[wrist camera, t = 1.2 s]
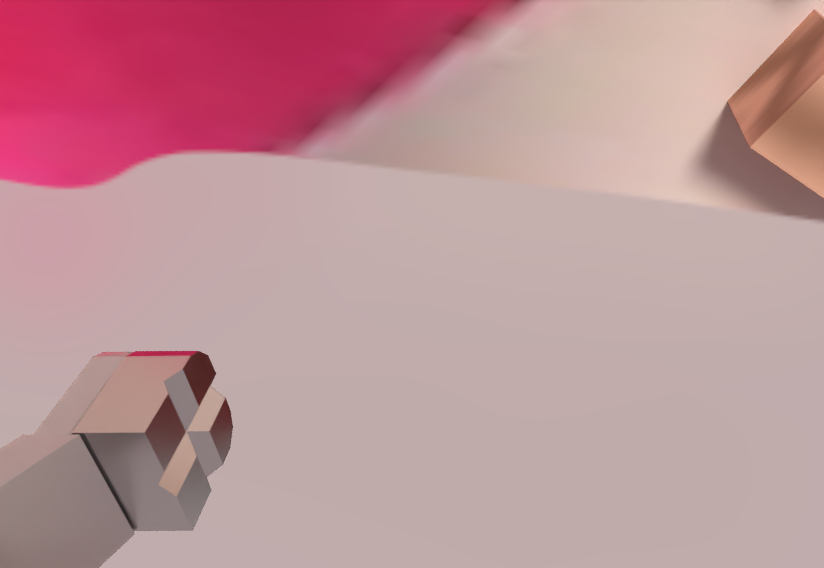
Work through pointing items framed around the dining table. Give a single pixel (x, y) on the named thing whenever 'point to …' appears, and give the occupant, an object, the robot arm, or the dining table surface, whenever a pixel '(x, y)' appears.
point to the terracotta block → (788, 105)
